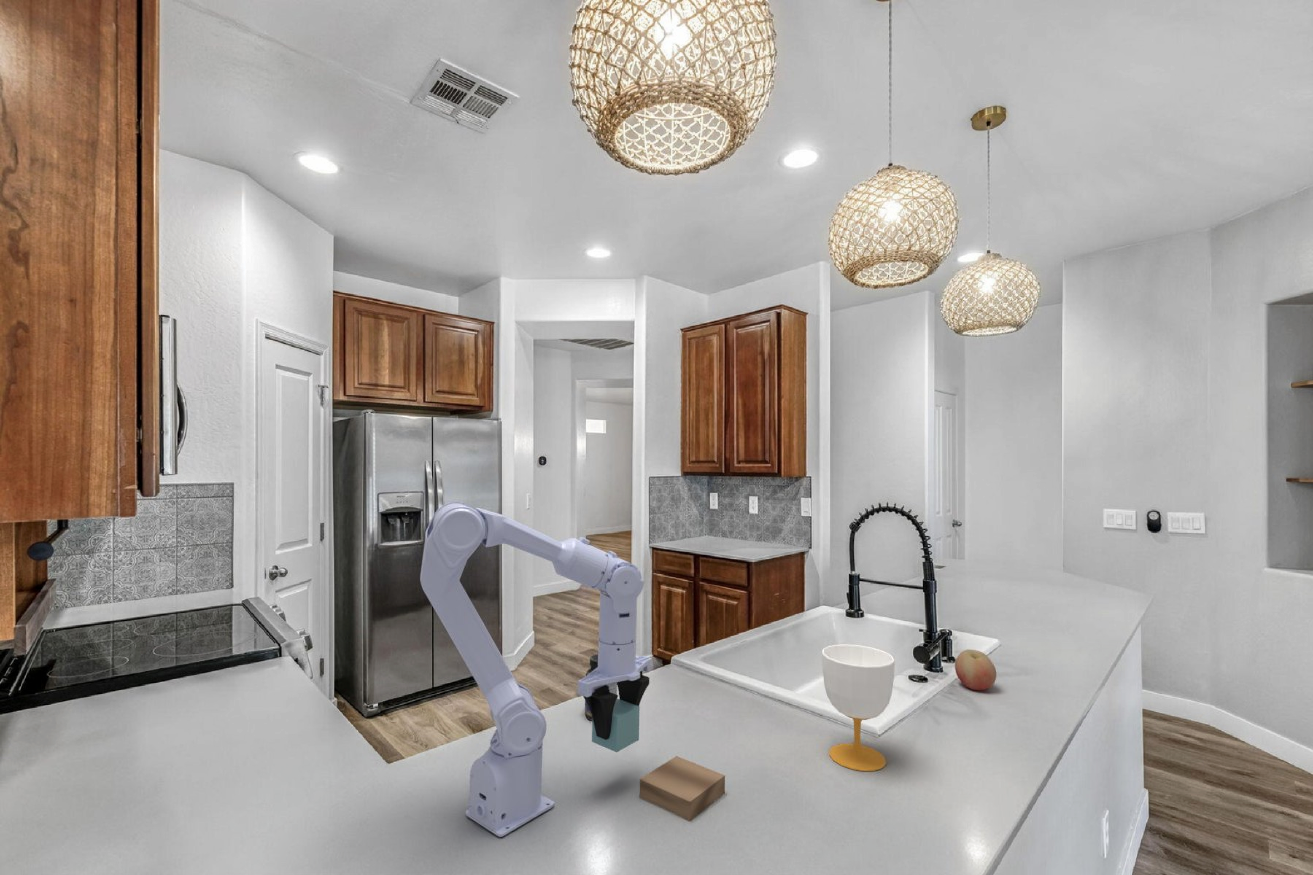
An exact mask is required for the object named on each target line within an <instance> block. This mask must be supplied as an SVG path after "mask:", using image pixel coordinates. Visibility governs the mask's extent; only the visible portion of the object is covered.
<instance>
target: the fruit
mask: <svg viewBox="0 0 1313 875" xmlns="http://www.w3.org/2000/svg"><path fill="white" fill-rule="evenodd" d="M954 670H955V673H956V676H957V678H958V680H959V681H960V682H961V684H963V685H964V686H965V687H966V688H969V689H970V690H972V691H973V690H974V691H985V690H988V689H991V688H992V686H993V685H994V684H995V682H996V681H997V669H996V667H995V665H994V663H993V661H992V660H991V659H990V658H989V656H988V655H987V654H986V653H984V652H982V651H979V650H976V649H965V650H963V651H961V652H960V653H959V654H958V655H957V656H956V658H955V661H954Z"/></svg>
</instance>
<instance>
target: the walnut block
mask: <svg viewBox="0 0 1313 875" xmlns="http://www.w3.org/2000/svg"><path fill="white" fill-rule="evenodd" d="M725 790H726V775H724V774H723V773H720V772H717V771H715V770H712V769H710V768H708V767H704V766H703V765H700V764H697V763H695V762H693V761H690V760H687V759H685V758H682V757H680V756H677V755H675V756H674V757H672V758H670V759H669V760H668V761H666V762H665V763H663V764H661V765H660V766H658V767H656V768H655V769H653V770H652V771H650V772H649V773H647V774H645V775H644V776H642V777H641V778H639V794H638V795H639V796H638V797H639V798H640V799H643V800H644V801H647V802H649V803H651V804H653V805H655V806H657V807H658V808H661V809H663V810H665V811H667V812H669V813H671V814H674V815H675V816H677V817H680V818H682V819H684V820H686V821H688V822H691V821H693V820H694V819H695V818H697V816H698V815H700V814H701V813H702V812H703V811H705V810H707V808H708V807H709V806H711V805H713V804H714V803H715V802H716V801H717V800H718V799H719V798H721V797H722V796H724V794H725V793H726V791H725Z"/></svg>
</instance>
